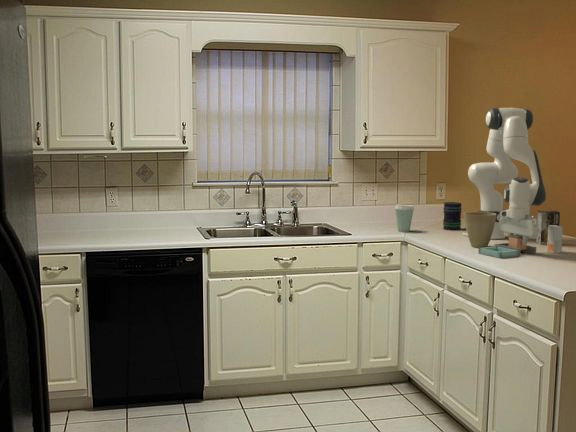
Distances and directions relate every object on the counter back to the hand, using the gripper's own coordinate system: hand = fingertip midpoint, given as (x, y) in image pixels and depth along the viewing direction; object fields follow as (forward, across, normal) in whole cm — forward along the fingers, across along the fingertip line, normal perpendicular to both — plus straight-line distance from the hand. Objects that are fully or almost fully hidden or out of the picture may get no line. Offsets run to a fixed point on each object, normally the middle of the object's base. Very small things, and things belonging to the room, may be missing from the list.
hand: (517, 244), depth 302 cm
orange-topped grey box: (+2, 0, 0) cm, 2 cm away
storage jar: (+5, +73, -25) cm, 77 cm away
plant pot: (+4, +21, +4) cm, 21 cm away
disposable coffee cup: (+5, +79, +4) cm, 79 cm away
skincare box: (+4, -6, -16) cm, 18 cm away
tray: (+4, 0, +12) cm, 13 cm away
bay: (+4, +1, 0) cm, 4 cm away
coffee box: (+4, +12, -32) cm, 35 cm away
